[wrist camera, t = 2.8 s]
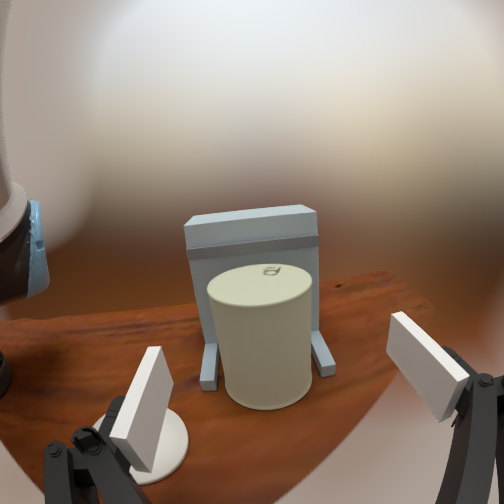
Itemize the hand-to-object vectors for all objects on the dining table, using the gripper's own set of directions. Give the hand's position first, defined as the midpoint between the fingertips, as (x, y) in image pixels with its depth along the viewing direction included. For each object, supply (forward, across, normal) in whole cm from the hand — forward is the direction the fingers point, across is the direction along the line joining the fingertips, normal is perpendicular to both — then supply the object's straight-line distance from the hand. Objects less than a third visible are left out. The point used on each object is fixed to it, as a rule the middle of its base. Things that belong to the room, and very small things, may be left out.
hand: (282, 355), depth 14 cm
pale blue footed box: (+16, -1, -11) cm, 20 cm away
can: (+10, -1, -11) cm, 15 cm away
